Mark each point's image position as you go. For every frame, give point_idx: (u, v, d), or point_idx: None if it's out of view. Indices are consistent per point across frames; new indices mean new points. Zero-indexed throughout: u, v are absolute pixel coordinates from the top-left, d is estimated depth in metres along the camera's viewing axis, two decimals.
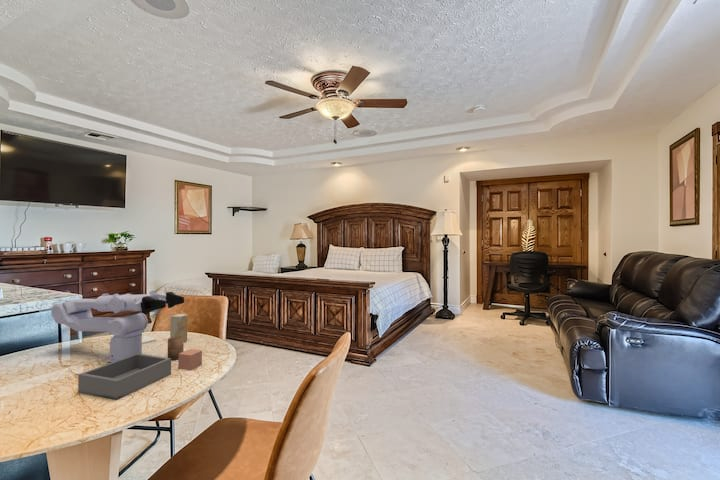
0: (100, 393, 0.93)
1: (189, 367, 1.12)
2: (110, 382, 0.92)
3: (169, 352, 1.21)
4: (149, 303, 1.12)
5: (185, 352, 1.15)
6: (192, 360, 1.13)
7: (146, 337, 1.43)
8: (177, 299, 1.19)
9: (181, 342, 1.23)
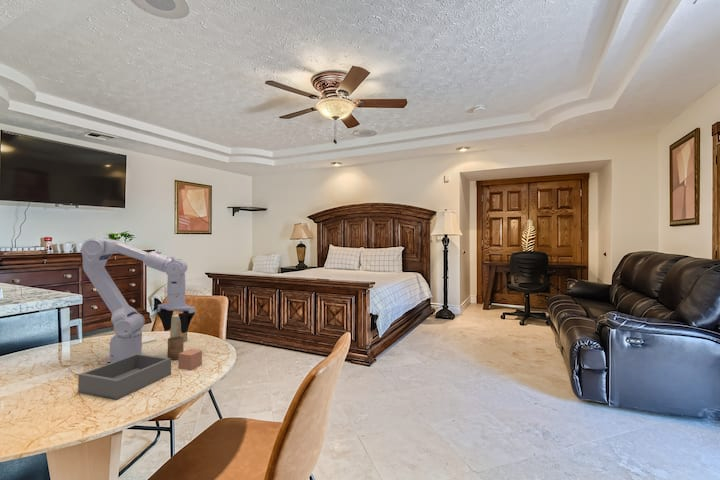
0: (100, 393, 0.93)
1: (189, 367, 1.12)
2: (110, 382, 0.92)
3: (169, 352, 1.21)
4: (186, 316, 1.22)
5: (185, 352, 1.15)
6: (192, 360, 1.13)
7: (146, 337, 1.43)
8: (168, 323, 1.24)
9: (181, 342, 1.23)
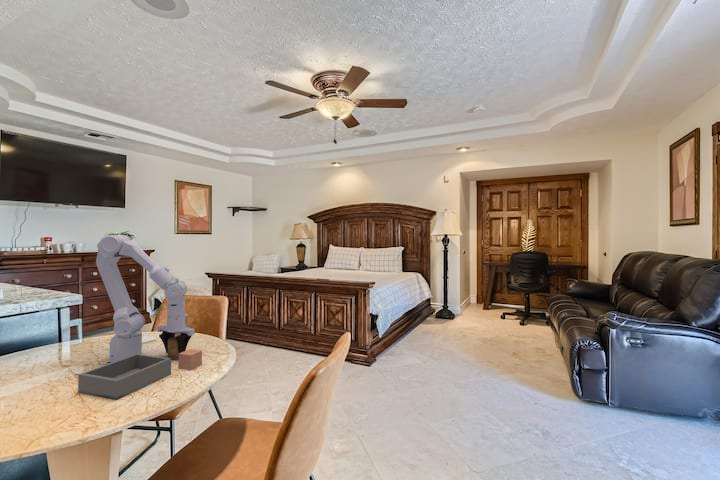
0: (100, 393, 0.93)
1: (189, 367, 1.12)
2: (110, 382, 0.92)
3: (169, 352, 1.21)
4: (184, 337, 1.23)
5: (185, 352, 1.15)
6: (192, 359, 1.13)
7: (146, 337, 1.43)
8: None
9: None
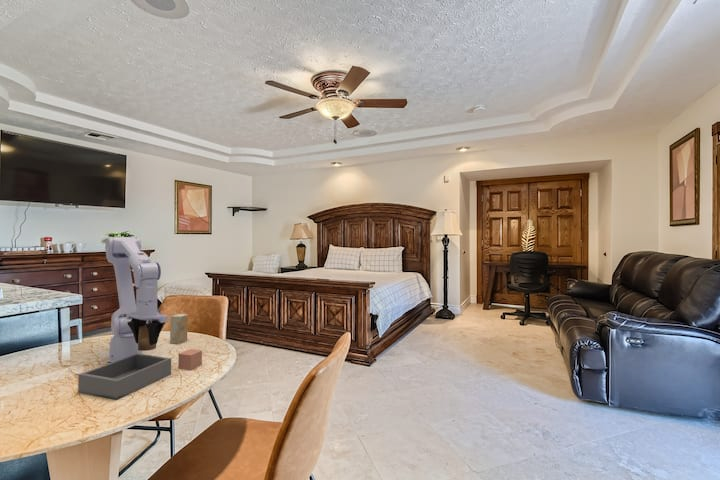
0: (100, 393, 0.93)
1: (189, 367, 1.12)
2: (110, 382, 0.92)
3: (140, 341, 1.08)
4: (156, 325, 1.09)
5: (185, 352, 1.15)
6: (192, 359, 1.13)
7: None
8: None
9: None
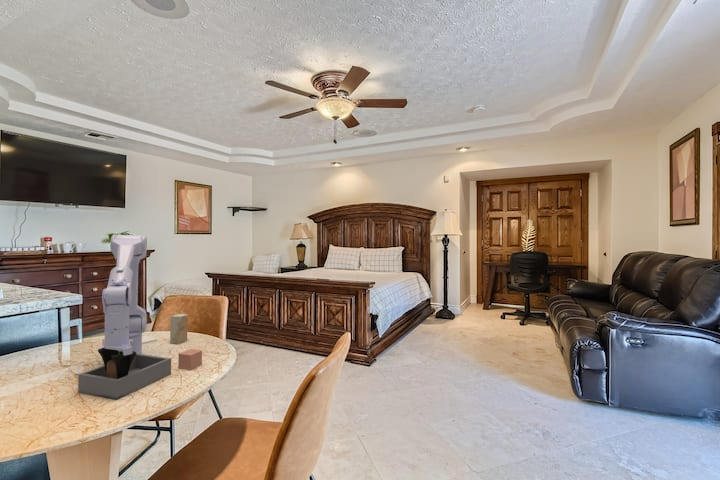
0: (100, 393, 0.93)
1: (189, 367, 1.12)
2: (110, 382, 0.92)
3: None
4: (125, 357, 0.97)
5: (185, 352, 1.15)
6: (192, 360, 1.13)
7: (147, 337, 1.43)
8: None
9: None
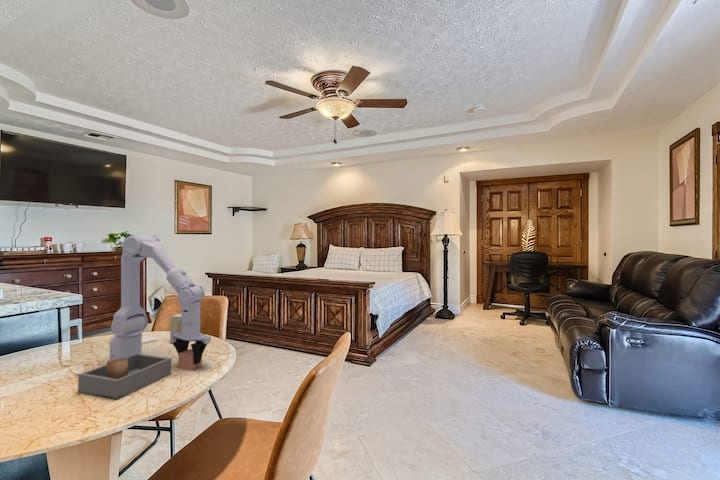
0: (100, 393, 0.93)
1: (189, 366, 1.12)
2: (110, 382, 0.92)
3: None
4: (199, 346, 1.15)
5: (185, 352, 1.15)
6: (192, 359, 1.13)
7: (147, 337, 1.44)
8: None
9: (122, 366, 0.98)
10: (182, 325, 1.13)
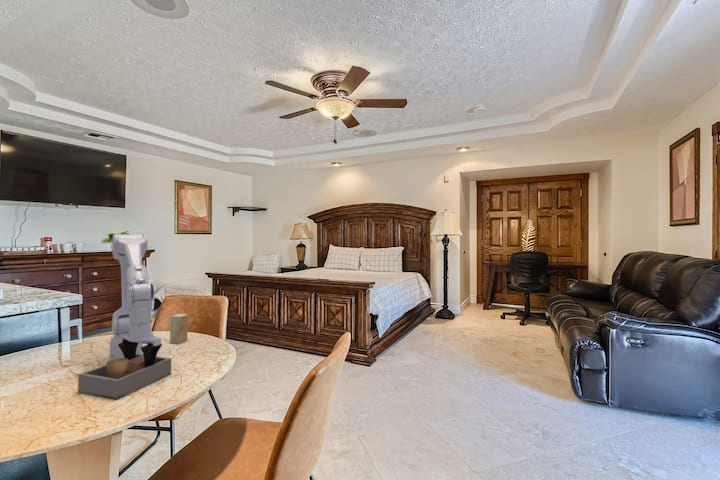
0: (100, 393, 0.93)
1: None
2: (110, 382, 0.92)
3: None
4: (151, 348, 1.05)
5: (134, 359, 1.06)
6: (140, 368, 1.04)
7: None
8: (132, 356, 1.07)
9: (122, 366, 0.98)
10: (129, 325, 1.04)
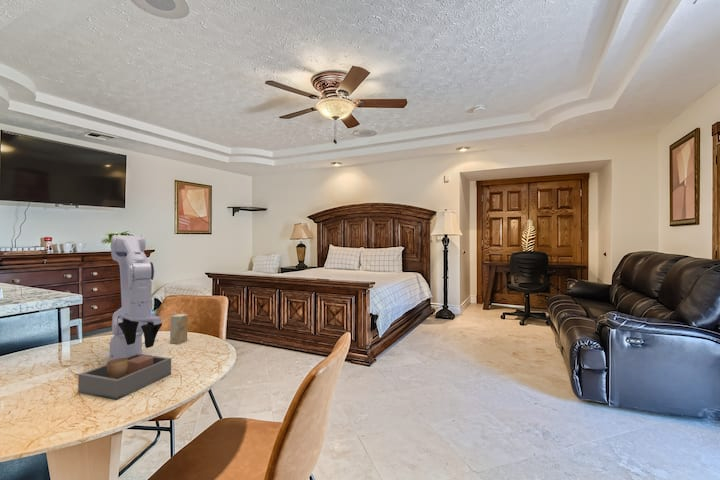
0: (100, 393, 0.93)
1: None
2: (110, 382, 0.92)
3: None
4: (152, 327, 1.05)
5: (134, 359, 1.06)
6: (140, 368, 1.04)
7: None
8: (132, 336, 1.07)
9: (122, 366, 0.98)
10: (130, 304, 1.04)
